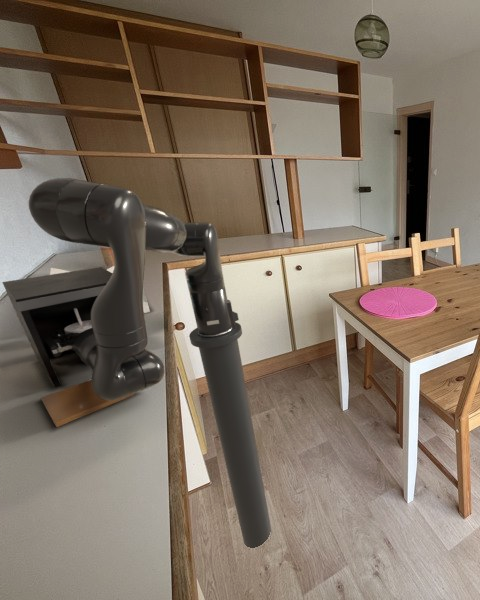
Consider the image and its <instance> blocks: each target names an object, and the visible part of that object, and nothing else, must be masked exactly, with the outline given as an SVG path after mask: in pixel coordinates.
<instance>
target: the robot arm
mask: <svg viewBox="0 0 480 600" xmlns="http://www.w3.org/2000/svg"><path fill="white" fill-rule="evenodd" d="M28 210H29V213H30V216H31V217H32V219H33V221H34V222H35V223H36V224H37V226H38V227H39V228H40V229H41V230H42V231H44V232H45V233H46V234H48V235H49V236H51V237H54V238H56V239H58V240H61V241H65V242H68V243H75V244H82V245H90V246H97V247H100V246H104V247H110V248H111V249H112V251H113V255H114V262H115V263H114V271H113V274H112V275H111V277H110V279H109V281H108V282H107V284H106V285H105V287H104V288H103V290H102V291H101V292H100V294H99V295H98V297H97V298H96V300H95V302H94V304H93V306H92V309H91V324H92V328H90V329H87V330H85V331H83V332H80V333H68V334H63V333H62V332H61V330H56V332H55V333H53V336H54V338H53V339H52V338H47V339H45V340H44V341H45V343H46V345H47V347H48V350H49V351H50V353H51V354H52V355H53V357H57V356H60V355H61V353H62V352H63V351H65V350H71V351H75V352H76V354H77V356H78V358H80V360H81V362H83V363H84V364H86V366H88V367H90V368H91V370H92V373H91V377H90V378H91V379H90V380H91V385H92V389H93V391H94V393H95V394H96V395H97V396H98V397H99V398H101V399H103V400H107V401H113V400H117V399H120V398H123V397H125V396H128V395H130V394H133V393H135V394H136V393H138V392H141V391H143V390H147V389H149V388H151V387H154V386H156V385H157V384H159V383H160V382H161V381H162V379H163V378H164V376H165V364H164V362H163V361H162V360H161V358H160V357H159V356H158V355H156V354H155V353H153V352H152V351H150V350H146V348H147V347H148V343H149V337H148V332H147V331H148V330H147V324H146V317H145V313H144V309H143V289H144V284H145V271H146V252H152V253H161V254H162V253H164V254H166V253H172V254H175V255H177V256H181V257H204V259H205V260H204V261H203V262H202V263H201V264H198V265H195V266H192V267H190V268H188V269H186V271H185V272H184V273H185V275H184V276H185V279H186V284H187V288H188V292H189V297H190V301H191V307H192V310H193V311H192V312H193V315H194V319H195V324H196V328H197V329H198V334H199V336H201V337H205V338H213V337H219V336H222V335H225V334H227V333H229V332H231V331H232V330H233V329H235V322H238V321H239V313H238V312H235V311H234V310H233V307H232V301H231V300H230V299H228V296H227V291H226V284H225V279H224V273H223V265H222V259H221V252H220V243H219V236H218V231H217V229H216V227H215V226H214V224H213V223H210V222H183V221H182V220H181V218H179V217H178V216H177V215H175V214H173V213H171V212H169V211H167V210H164V209H162V208H159V207H155V206H151V205H148V204H144V203H143V201H142V200H141V199H140V197H139V196H138V195H137V193H135V192H134V191H132V189H128V188H125V187H122V186H116V185H111V184H106V183H99V182H94V181H89V180H84V179H77V178H69V177H57V178H51V179H48V180H45V181H43V182H40V183H39V184H38V185H36V187H34V188H33V189H32V190H31V193H30V195H29V198H28ZM73 337H74V338H73ZM144 349H145V350H144Z"/></svg>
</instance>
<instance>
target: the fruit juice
mask: <svg viewBox="0 0 480 600" xmlns="http://www.w3.org/2000/svg"><path fill="white" fill-rule="evenodd" d="M99 249H100V252H101V255H102V259H103V262H104V264H105V267H106V270H107V269H109V268H111V267H113V266H114V263H115V262H114V255H113V251H112V249H111V248H110V247H104V246H99Z"/></svg>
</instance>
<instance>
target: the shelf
mask: <svg viewBox="0 0 480 600" xmlns="http://www.w3.org/2000/svg"><path fill="white" fill-rule="evenodd" d="M112 274H113V273H111V272H109V271H107V268H106V269H105V268H104V267H102V266H99V267H92V268H86V269H80V270H73V271H71V272H65V273H59V274H52V275H50V274H46V275H40V276H33V277H27V278H21V279H14V280H8V281H2V286H3V287H4V289H5V292H6V294H7V296H8V298H9V301H10V302H11V304H12V307H13V309H14V311H15V313H16V316H17V318H18V320H19V322H20V324H21V326H22V328H23V331H24V333H25V336H26V338H27V340H28V342H29V344H30V346H31V348H32V351H33V353H34V355H35V357H36V360H37V362H38V363H39V366H40V367H41V368H42V370H43V371H44V373H45V375H46V376H47V379H49V381H50V382H51V385H52V386H53V388H54V389H56V388H60V387H62V384H61V382H60V380H59V377H58V375H57V372H56V370H55V368H54V366H53V363H52V360H56V359H58V358H59V359H60V358H63V357H66V356H69V355H72V354H75V353H76V352H75V351H71V350H65V351H63V352H62V353H61V355H60V356H57V357H53V355H52V354H51V353H50V351H49V350H48V347H47V345H46V343H45V341H44V340H45V339H47V338H52V339H53V338H54V336H53V333H55V332H56V330H61V332H62V333H63V334H65V331H64V328H65V327H67V326H69V325H71V324H74V323H77V322H78V319H77V317H76V314H75V312H74V308H77V310H78V313H79V316H80V318H81V321H88V320H91V309H92V306H93V304H94V302H95V300H96V298H97V297H98V295H99V294H100V292H101V291H102V290H103V288H104V287H105V285H106V284H107V282H108V281H109V279H110V277H111V275H112ZM144 350H146V348H145V349H144ZM76 354H77V353H76Z"/></svg>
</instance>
